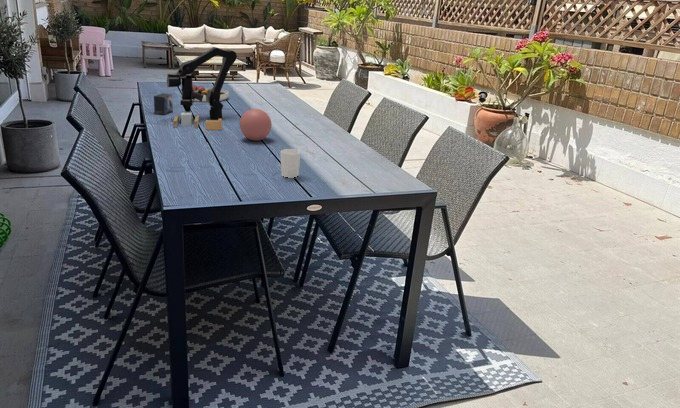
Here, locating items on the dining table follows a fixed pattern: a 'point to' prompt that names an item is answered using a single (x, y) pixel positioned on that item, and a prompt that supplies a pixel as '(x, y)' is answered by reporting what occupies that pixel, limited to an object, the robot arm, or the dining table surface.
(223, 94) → the bowl
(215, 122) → the bar
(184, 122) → the plug block
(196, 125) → the channel
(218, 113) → the robot arm
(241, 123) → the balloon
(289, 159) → the white cup
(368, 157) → the dining table surface
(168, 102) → the small box
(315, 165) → the dining table surface
